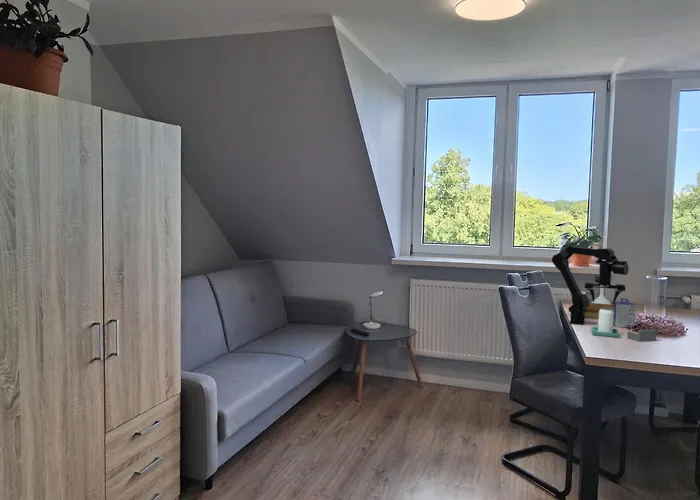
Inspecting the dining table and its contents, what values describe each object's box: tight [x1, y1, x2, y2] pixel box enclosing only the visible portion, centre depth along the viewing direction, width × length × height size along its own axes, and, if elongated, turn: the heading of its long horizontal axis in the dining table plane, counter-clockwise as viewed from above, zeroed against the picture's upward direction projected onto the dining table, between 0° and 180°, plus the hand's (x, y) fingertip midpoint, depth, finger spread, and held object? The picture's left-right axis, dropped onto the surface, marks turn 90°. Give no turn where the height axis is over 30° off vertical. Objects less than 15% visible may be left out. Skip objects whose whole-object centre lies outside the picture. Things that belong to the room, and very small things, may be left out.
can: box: [597, 308, 614, 333], centre depth 263 cm, size 6×6×12 cm
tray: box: [591, 326, 620, 339], centre depth 263 cm, size 12×12×2 cm
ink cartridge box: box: [613, 297, 637, 328], centre depth 282 cm, size 10×6×14 cm, turn 78°
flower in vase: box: [591, 285, 612, 305], centre depth 339 cm, size 13×11×25 cm
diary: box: [584, 302, 614, 320], centre depth 310 cm, size 23×19×6 cm
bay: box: [626, 329, 657, 343], centre depth 255 cm, size 7×10×5 cm
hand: (603, 303), depth 276 cm, fingers open, 9 cm apart
